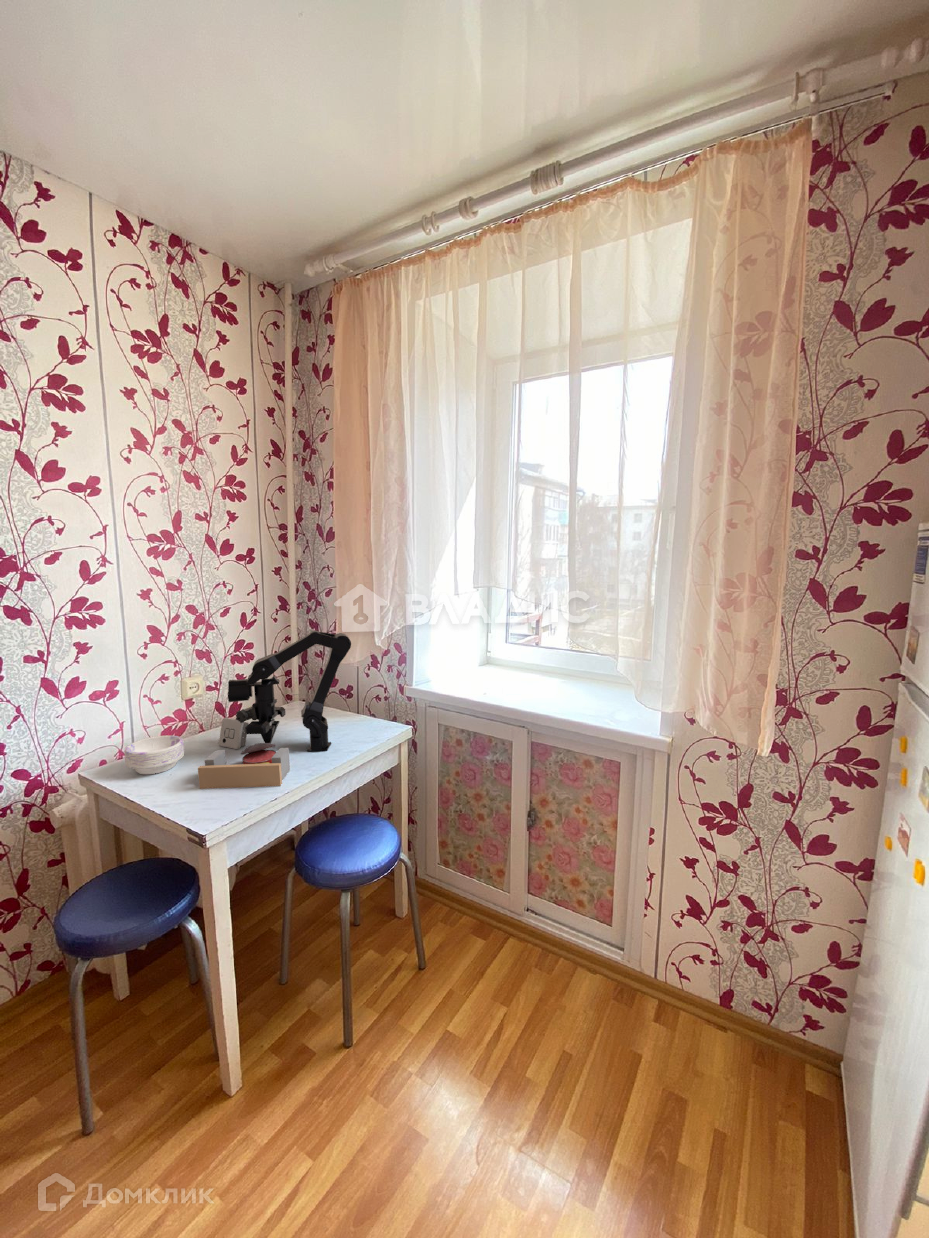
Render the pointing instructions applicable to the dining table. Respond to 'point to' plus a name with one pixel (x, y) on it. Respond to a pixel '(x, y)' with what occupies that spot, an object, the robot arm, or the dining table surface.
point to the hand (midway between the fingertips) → (268, 745)
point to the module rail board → (243, 772)
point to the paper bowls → (154, 754)
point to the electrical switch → (232, 733)
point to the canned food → (258, 754)
